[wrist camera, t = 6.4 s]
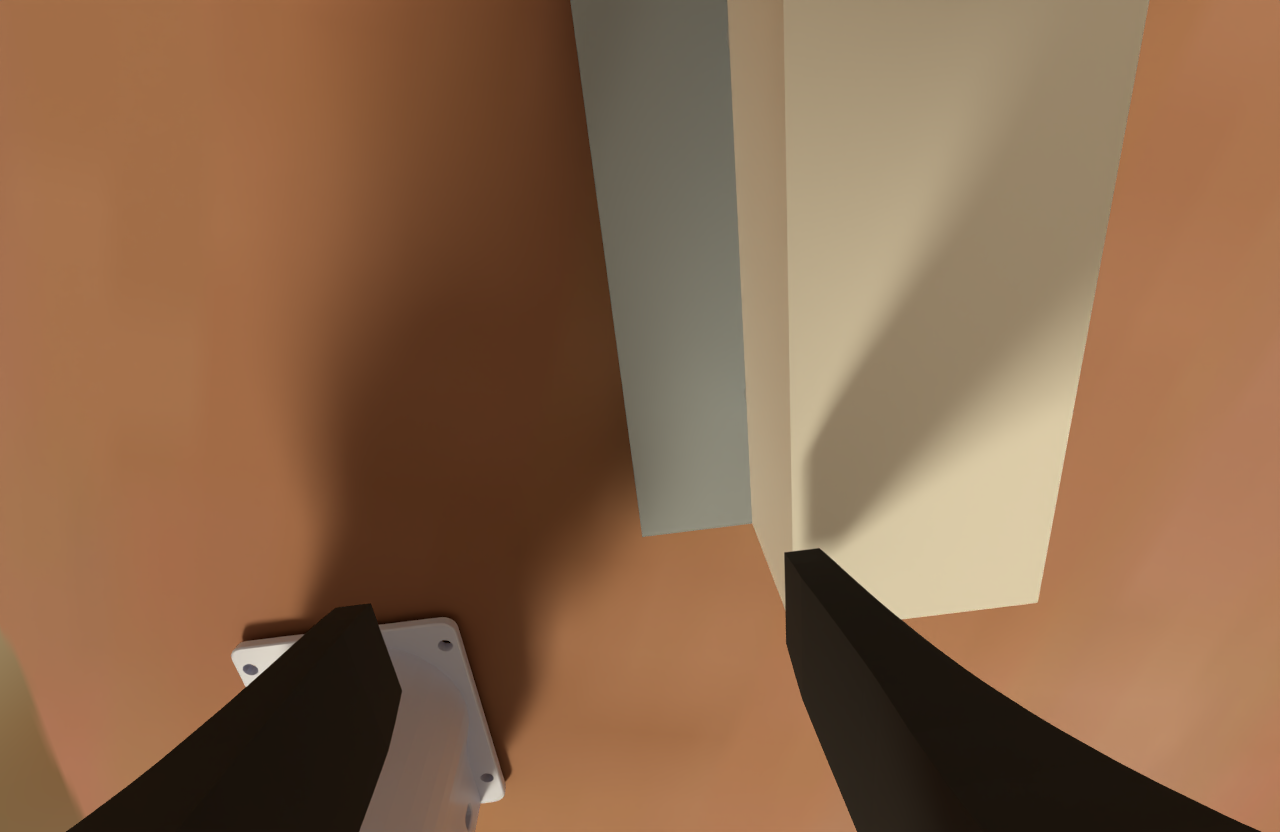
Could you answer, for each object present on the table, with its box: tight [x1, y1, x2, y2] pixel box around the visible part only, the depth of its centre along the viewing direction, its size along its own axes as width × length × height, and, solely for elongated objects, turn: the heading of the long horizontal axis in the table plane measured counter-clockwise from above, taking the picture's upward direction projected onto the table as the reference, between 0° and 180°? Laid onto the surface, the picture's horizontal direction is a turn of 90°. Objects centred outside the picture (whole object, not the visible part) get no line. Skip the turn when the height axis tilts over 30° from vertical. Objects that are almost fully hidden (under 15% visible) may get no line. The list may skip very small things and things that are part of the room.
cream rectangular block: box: [727, 0, 1149, 619], centre depth 12 cm, size 14×5×4 cm, turn 6°
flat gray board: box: [570, 0, 752, 537], centre depth 15 cm, size 18×11×4 cm, turn 6°
